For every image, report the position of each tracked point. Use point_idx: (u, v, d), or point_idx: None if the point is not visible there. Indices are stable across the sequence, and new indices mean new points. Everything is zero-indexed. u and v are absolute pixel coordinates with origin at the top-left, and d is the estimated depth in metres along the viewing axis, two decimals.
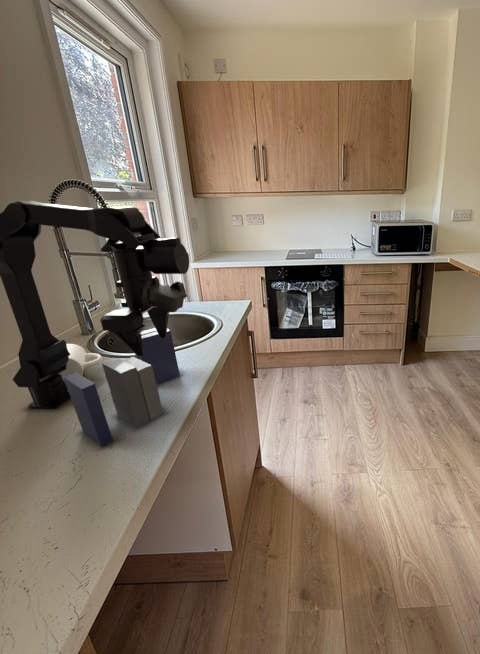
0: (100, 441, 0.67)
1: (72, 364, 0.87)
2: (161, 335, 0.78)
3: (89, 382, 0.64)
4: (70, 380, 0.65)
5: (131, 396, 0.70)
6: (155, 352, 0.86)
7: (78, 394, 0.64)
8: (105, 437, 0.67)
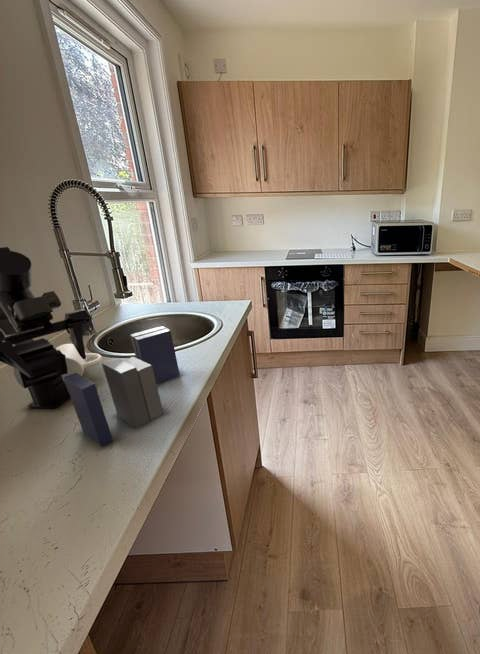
0: (100, 441, 0.67)
1: (72, 364, 0.87)
2: (82, 356, 0.73)
3: (89, 382, 0.64)
4: (70, 380, 0.65)
5: (131, 396, 0.70)
6: (155, 352, 0.86)
7: (78, 394, 0.64)
8: (105, 437, 0.67)
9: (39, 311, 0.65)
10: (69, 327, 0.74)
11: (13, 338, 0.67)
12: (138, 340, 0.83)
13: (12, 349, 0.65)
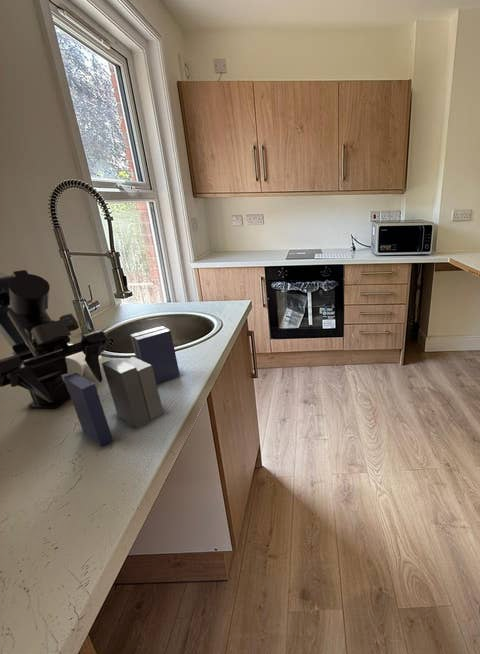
0: (100, 441, 0.67)
1: (72, 364, 0.87)
2: (98, 379, 0.71)
3: (89, 382, 0.64)
4: (70, 380, 0.65)
5: (131, 396, 0.70)
6: (155, 352, 0.86)
7: (78, 394, 0.64)
8: (105, 437, 0.67)
9: (57, 335, 0.64)
10: (86, 349, 0.72)
11: (31, 362, 0.65)
12: (138, 340, 0.83)
13: (32, 374, 0.63)
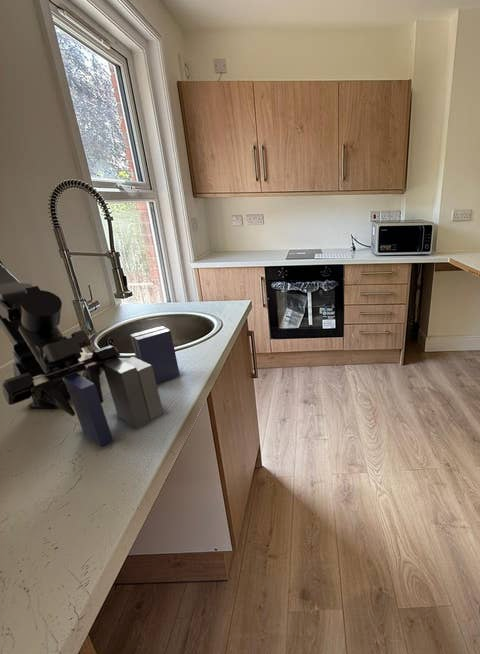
0: (100, 441, 0.67)
1: None
2: None
3: (89, 382, 0.64)
4: (70, 380, 0.65)
5: (131, 396, 0.70)
6: (155, 352, 0.86)
7: (78, 394, 0.64)
8: (105, 437, 0.67)
9: (69, 353, 0.63)
10: None
11: None
12: (138, 340, 0.83)
13: (55, 388, 0.64)
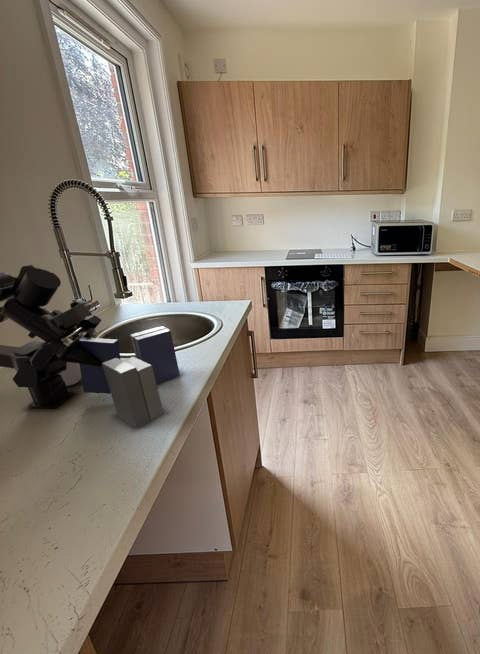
0: None
1: (72, 364, 0.87)
2: None
3: (110, 339, 0.79)
4: (88, 341, 0.77)
5: (131, 396, 0.70)
6: (155, 352, 0.86)
7: (101, 350, 0.77)
8: None
9: (87, 315, 0.75)
10: None
11: None
12: (138, 340, 0.83)
13: (80, 345, 0.76)
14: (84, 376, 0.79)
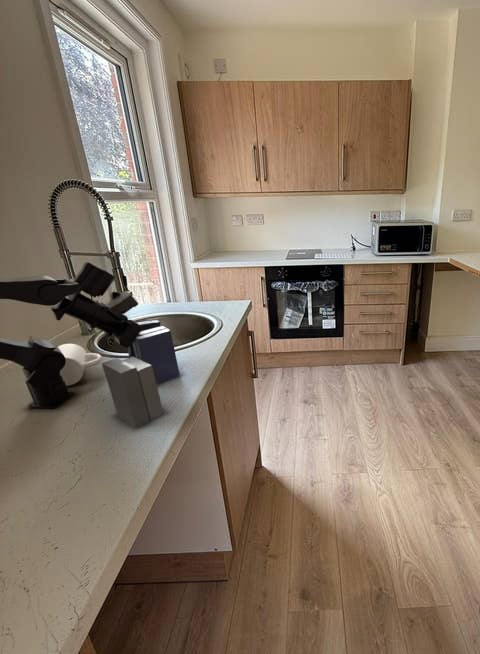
0: None
1: (72, 364, 0.87)
2: None
3: (152, 320, 0.94)
4: None
5: (131, 396, 0.70)
6: (155, 352, 0.86)
7: None
8: None
9: None
10: None
11: None
12: (138, 340, 0.83)
13: None
14: None
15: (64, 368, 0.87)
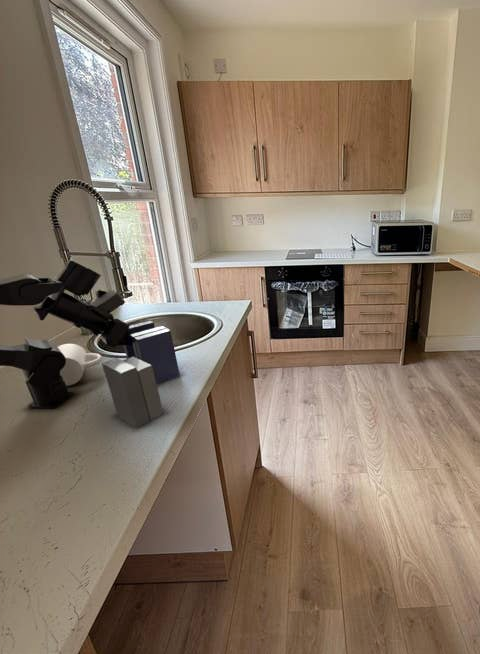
0: None
1: (72, 364, 0.87)
2: None
3: (145, 322, 0.94)
4: (132, 327, 0.90)
5: (131, 396, 0.70)
6: (155, 352, 0.86)
7: None
8: None
9: None
10: None
11: None
12: (138, 340, 0.83)
13: None
14: None
15: (64, 368, 0.87)
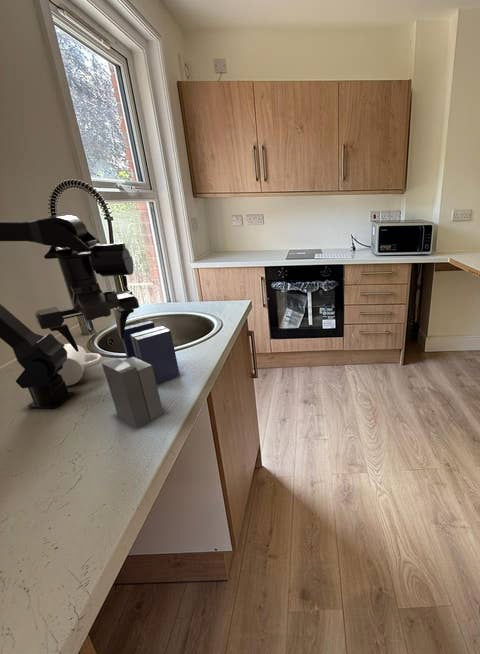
0: None
1: (72, 364, 0.87)
2: (120, 336, 0.83)
3: (145, 322, 0.94)
4: (132, 327, 0.90)
5: (131, 396, 0.70)
6: (155, 352, 0.86)
7: None
8: None
9: (100, 316, 0.72)
10: (117, 307, 0.80)
11: None
12: (138, 340, 0.83)
13: (67, 330, 0.73)
14: None
15: (64, 368, 0.87)
